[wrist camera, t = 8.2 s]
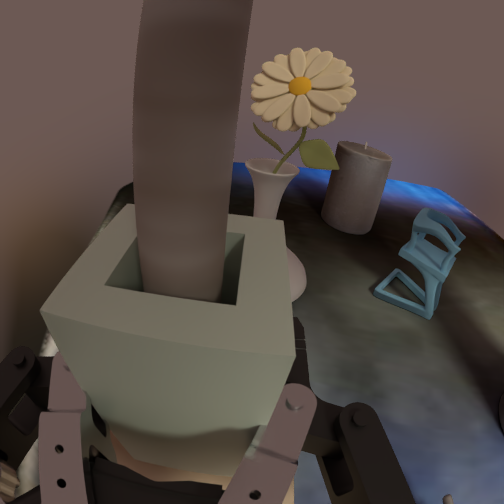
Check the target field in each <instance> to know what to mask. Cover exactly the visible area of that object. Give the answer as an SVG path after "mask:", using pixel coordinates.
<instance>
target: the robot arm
mask: <svg viewBox="0 0 504 504" xmlns="http://www.w3.org/2000/svg"><path fill="white" fill-rule="evenodd" d="M293 326H294V338H295V352H296V357H295V360H294V362H293V365H292V367H291V370H290V372H289V375H288V377H287V380H286V382H285V385H284V387H283V390H282V392H281V394H280V397H279V399H278V402H277V404H276V406H275V409H274V411H273V413H272V416H271V418H270V420H269V422H268V425H260V427H259V429H258V431H257V433H256V435H255V437H254V439H253V441H252V443H251V444H250V446H249V448H248V449H247V451H246V453H245V455H244V457H243V459H242V461H241V463H240V464H239V466H238V468H237V470H236V472H235V474H234V476H233V477H232V479H231V481H230V483H229V485H228V486H227V488H226V490H223V489H222V485H218V484H210V483H202V482H195V481H153V480H151V479H149V478H147V477H145V476H143V475H141V474H139V473H137V472H135V471H133V470H131V469H130V468H128V467H126V466H124V465H120V464H117V458H116V454H115V450H114V447H113V445H112V442H111V437H110V427H109V424H108V422H107V421H106V420H105V419H102V418H101V417H100V415H99V414H98V412H97V411H96V410H95V408H94V407H93V405H92V404H91V398H90V396H89V395H88V393H87V392H86V391H84V390H82V389H81V387H80V385H79V384H78V382H77V381H76V379H75V377H74V376H73V374H72V372H71V371H70V369H69V367H68V365H67V364H66V362H65V360H64V358H63V356H62V355H61V353H60V351H59V352H57V354H56V355H55V356H53V357H36V356H35V354H34V353H33V351H32V350H31V349H30V348H28V347H25V346H21V347H17V348H15V349H13V350H12V351H11V352H10V353H9V354H8V355H7V357H6V358H5V359H4V360H3V361H2V362H1V363H0V504H282V503H283V501H284V498H285V496H286V494H287V492H288V489H289V487H290V485H291V482H292V480H293V477H294V475H295V472H296V470H297V466H298V457H299V454H300V452H301V451H304V452H308V453H311V454H315V455H316V458H317V461H318V464H319V467H320V470H321V473H322V476H323V479H324V482H325V485H326V488H327V491H328V494H329V497H330V500H331V503H332V504H416V503H415V501H414V498H413V496H412V493H411V491H410V488H409V486H408V484H407V481H406V479H405V476H404V474H403V472H402V469H401V467H400V465H399V462H398V460H397V458H396V456H395V453H394V451H393V449H392V446H391V444H390V442H389V440H388V438H387V435H386V433H385V431H384V429H383V426H382V424H381V422H380V420H379V418H378V416H377V414H376V412H375V411H374V409H373V408H371V407H370V406H369V405H367V404H364V403H359V402H355V403H351V404H349V405H347V406H346V407H340V406H337V405H334V404H330V403H327V402H325V401H323V400H321V399H320V398H318V397H317V396H316V395H315V394H314V392H313V391H312V389H311V387H310V383H309V372H308V363H307V353H306V344H305V335H304V327H303V326H302V324H301V323H300V321H299V319H298V318H297V317H293ZM24 393H26V395H25V396H24V398H23V399H22V400H21V402H20V403H19V404H18V406H17V407H16V408H15V410H14V411H13V412H12V414H11V415H10V416H8V415H9V413H10V412H11V410H12V409H13V407H14V406H15V405H16V403H17V402H18V401H19V399H20V398H21V397H22V396H23V394H24ZM499 419H500V423H501V427H502V429H503V432H504V393H503V394H502V396H501V399H500V402H499ZM38 436H39V439H38V453H39V478H40V485H38V486H37V487H35V488H33V489H32V490H30V491H28V492H26V493H25V494H23V495H21V496H19V497H17V498H16V499H15V497H14V490H15V488H18V487H19V485H20V481H19V479H18V477H17V475H16V470H17V468H18V467H19V465H20V464H21V462H22V461H23V459H24V457H25V456H26V454H27V453H28V451H29V450H30V448H31V447H32V445H33V444H34V442H35V441H36V439H37V438H38Z"/></svg>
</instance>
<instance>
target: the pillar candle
mask: <svg viewBox="0 0 504 504" xmlns="http://www.w3.org/2000/svg"><path fill="white" fill-rule="evenodd" d="M335 158H336V161H337V163H338V166H339V170H332V171H331V175H330V180H329V184H328V187H327V192H326V195H325V200H324V204H323V207H322V211H321V217H322V219H323V220H324V221H325V222H326V223H327V224H328V225H330V226H331V227H333V228H335V229H337V230H340V231H343V232H346V233H350V234H357V235H358V234H365V233H367V232H368V231H370V229H371V227H372V224H373V221H374V218H375V215H376V212H377V209H378V206H379V203H380V200H381V196H382V193H383V190H384V186H385V183H386V180H387V176H388V172H389V169H390V166H391V162H392V157H391V156H389V155H387V154H385V153H383V152H381V151H379V150H377V149H374V148H372V147H369V146H367V142H366V145H362V144H358V143H353V142H348V141H340V142H338V145H337V149H336V154H335Z"/></svg>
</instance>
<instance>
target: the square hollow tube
mask: <svg viewBox="0 0 504 504" xmlns="http://www.w3.org/2000/svg"><path fill="white" fill-rule="evenodd" d="M40 312H41V314H42V317H43V319H44V321H45V323H46V325H47V327H48V329H49V331H50V334H51V336H52V338H53V339H54V341H55V343H56V345H57V347H58V349H59V351H60V353H61V355H62V356H63V358H64V360H65V362H66V364H67V365H68V367H69V369H70V371H71V372H72V374H73V376H74V377H75V379H76V381H77V382H78V384H79V385H80V387H81V389H82V390H84V391H86V392H87V393H88V395H89V396H90V398H91V404H92V405H93V407H94V408H95V410H96V411H97V412H98V414H99V415H100V417H101V418H102V419H105V420H106V421H107V422H108V424H109V427H110V430H111V431H112V433H113V434H114V435H115V437H116V438H117V439H118V440H119V442H120V443H121V444H122V445H123V446H124V448H125V449H126V450H127V451H128V452H129V454H130V455H131V456H132V457H133V458H134V459H136V460H139V461H143V462H147V463H151V464H156V465H160V466H165V467H169V468H174V469H180V470H185V471H191V472H197V473H204V474H211V475H220V476H229V477H233V476H234V474H235V472H236V470H237V468H238V466H239V464H240V463H241V461H242V459H243V457H244V455H245V453H246V451H247V449H248V448H249V446H250V444H251V443H252V441H253V439H254V437H255V435H256V433H257V431H258V429H259V427H260V425H268V422H269V420H270V418H271V416H272V413H273V411H274V409H275V406H276V404H277V402H278V399H279V397H280V394H281V392H282V390H283V387H284V385H285V382H286V380H287V377H288V375H289V372H290V370H291V367H292V365H293V362H294V360H295V357H296V352H295V338H294V326H293V314H292V302H291V291H290V280H289V270H288V260H287V250H286V241H285V231H284V222H283V221H281V220H274V219H266V218H258V217H250V216H242V215H233V214H228V221H227V232H226V244H225V257H224V270H223V283H222V297H221V304H220V303H212V302H204V301H197V300H190V299H183V298H177V297H170V296H164V295H157V294H151V293H145V292H144V288H143V281H142V274H141V266H140V258H139V249H138V239H137V228H136V216H135V204H127V205H126V206H125V207H124V208H123V209H122V210H121V211H120V212H119V213H118V214H117V215H116V216H115V217H114V218H113V220H112V221H111V222H110V223H109V224H108V225H107V226H106V227H105V228H104V229H103V231H102V232H101V233H100V234H99V235H98V236H97V237H96V239H95V240H94V241H93V242H92V243H91V244H90V246H89V247H88V248H87V249H86V250H85V251H84V253H83V254H82V255H81V256H80V258H79V259H78V260H77V261H76V262H75V264H74V265H73V266H72V267H71V269H70V270H69V271H68V272H67V274H66V275H65V276H64V278H63V279H62V280H61V281H60V283H59V284H58V285H57V287H56V288H55V290H54V291H53V292H52V294H51V295H50V296H49V298H48V299H47V300H46V302H45V303H44V304H43V306H42V307H41V309H40Z"/></svg>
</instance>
